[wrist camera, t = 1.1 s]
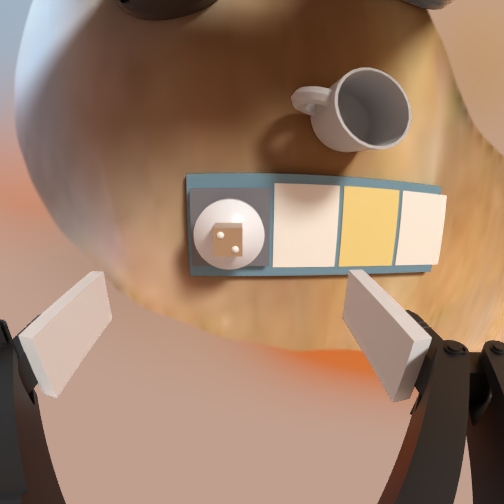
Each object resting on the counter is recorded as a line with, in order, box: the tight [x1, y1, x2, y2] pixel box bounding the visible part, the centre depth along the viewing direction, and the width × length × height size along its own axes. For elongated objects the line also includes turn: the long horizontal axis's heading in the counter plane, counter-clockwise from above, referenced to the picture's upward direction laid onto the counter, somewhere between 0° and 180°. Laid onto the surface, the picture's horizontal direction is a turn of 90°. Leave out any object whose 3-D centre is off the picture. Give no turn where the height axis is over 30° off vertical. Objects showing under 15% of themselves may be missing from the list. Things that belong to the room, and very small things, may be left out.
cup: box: [291, 68, 411, 152], centre depth 25 cm, size 7×10×9 cm
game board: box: [186, 173, 447, 276], centre depth 31 cm, size 11×31×2 cm, turn 90°
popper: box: [194, 198, 265, 270], centre depth 26 cm, size 6×6×4 cm
